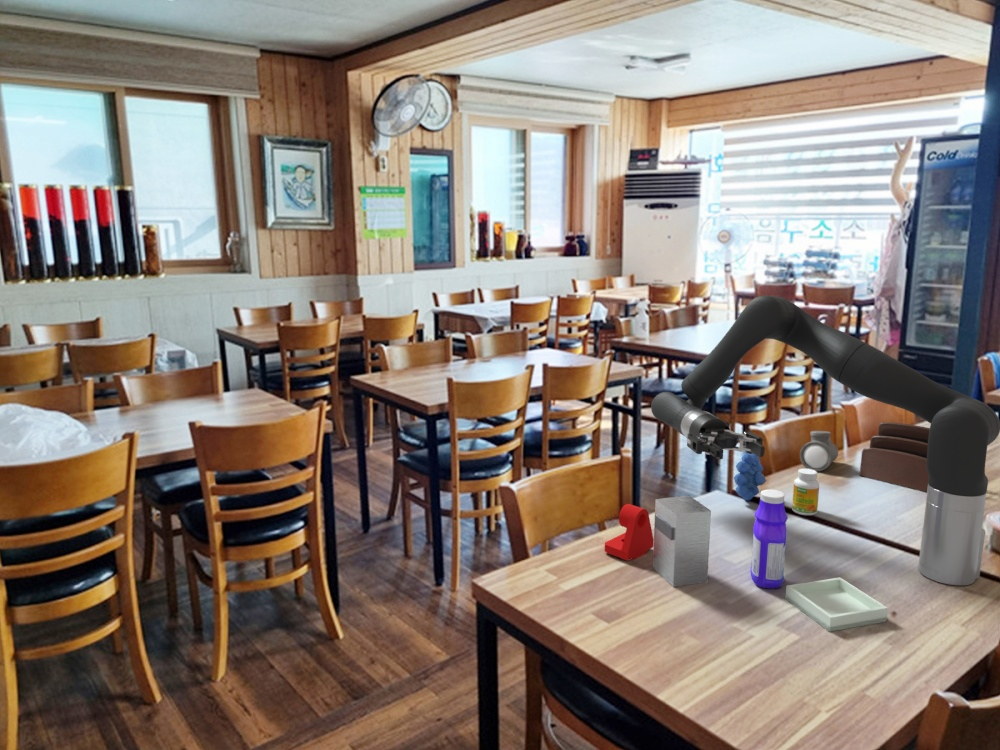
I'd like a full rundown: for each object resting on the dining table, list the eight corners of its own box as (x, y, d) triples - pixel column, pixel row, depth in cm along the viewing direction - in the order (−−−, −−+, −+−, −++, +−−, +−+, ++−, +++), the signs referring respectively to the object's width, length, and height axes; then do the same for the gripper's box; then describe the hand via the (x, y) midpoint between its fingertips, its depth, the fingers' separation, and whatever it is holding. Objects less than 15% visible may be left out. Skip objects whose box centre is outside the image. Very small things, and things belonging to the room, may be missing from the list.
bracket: (628, 540, 155) (629, 495, 153) (653, 549, 150) (654, 503, 148) (602, 553, 149) (603, 507, 147) (627, 563, 144) (629, 515, 142)
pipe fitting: (829, 473, 193) (830, 435, 193) (798, 469, 198) (799, 432, 198) (843, 467, 202) (845, 430, 202) (813, 464, 207) (814, 427, 207)
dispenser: (687, 562, 144) (691, 495, 141) (709, 581, 137) (713, 510, 134) (651, 568, 142) (653, 499, 139) (671, 587, 134) (674, 515, 132)
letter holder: (875, 468, 199) (880, 417, 196) (956, 487, 184) (963, 433, 182) (858, 476, 193) (863, 424, 190) (941, 497, 178) (948, 441, 175)
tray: (838, 590, 133) (840, 577, 133) (886, 621, 122) (887, 607, 122) (785, 598, 130) (786, 585, 130) (829, 631, 120) (830, 617, 119)
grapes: (752, 511, 169) (756, 461, 167) (725, 504, 174) (728, 455, 172) (775, 498, 178) (779, 450, 175) (749, 491, 182) (752, 444, 180)
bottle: (785, 592, 132) (793, 501, 129) (752, 589, 133) (758, 498, 130) (779, 574, 139) (785, 486, 136) (747, 571, 140) (753, 484, 137)
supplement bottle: (791, 514, 168) (794, 473, 166) (792, 505, 173) (795, 466, 171) (817, 517, 166) (820, 476, 164) (816, 508, 171) (820, 468, 169)
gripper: (674, 414, 156) (709, 436, 141) (736, 411, 159) (777, 432, 143) (672, 448, 158) (706, 473, 142) (734, 445, 160) (774, 469, 145)
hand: (742, 453), depth 143 cm, fingers open, 8 cm apart
